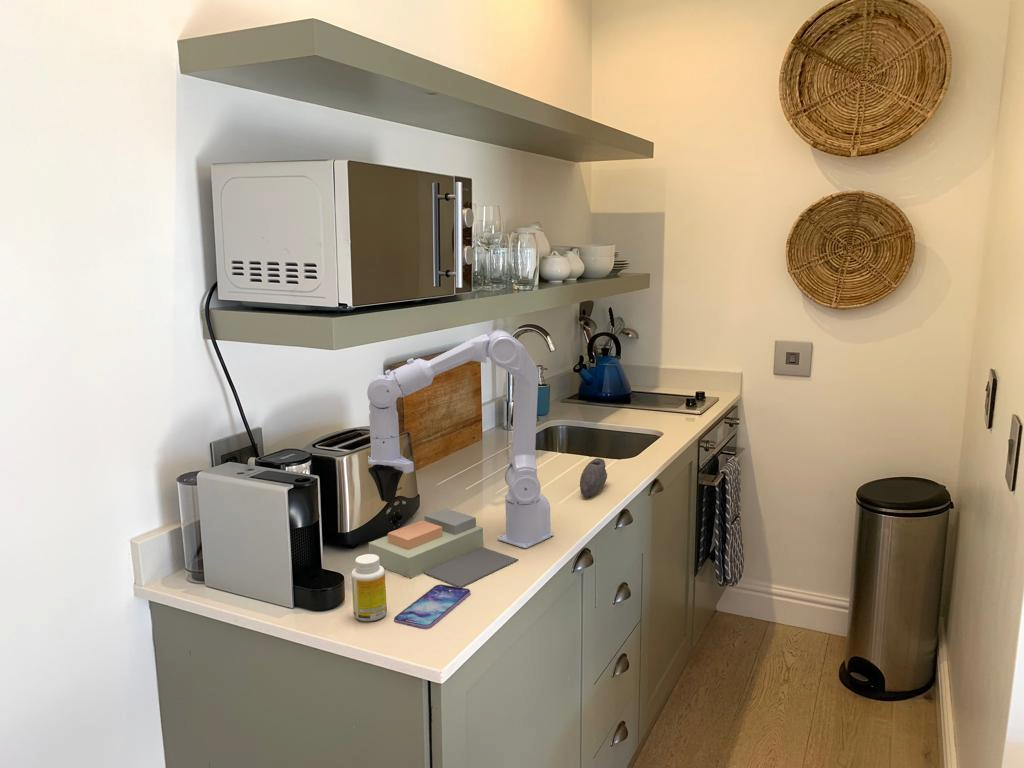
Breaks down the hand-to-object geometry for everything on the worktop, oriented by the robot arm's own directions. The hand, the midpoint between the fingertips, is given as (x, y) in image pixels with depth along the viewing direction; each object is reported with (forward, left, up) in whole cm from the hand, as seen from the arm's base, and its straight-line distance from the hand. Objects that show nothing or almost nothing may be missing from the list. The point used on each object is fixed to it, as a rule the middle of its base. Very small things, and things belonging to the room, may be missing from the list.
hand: (388, 500), depth 162 cm
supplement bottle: (+21, +20, -11) cm, 31 cm away
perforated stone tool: (-55, +11, -11) cm, 57 cm away
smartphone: (+12, +26, -11) cm, 31 cm away
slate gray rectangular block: (-10, +8, -6) cm, 14 cm away
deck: (-3, +8, -10) cm, 13 cm away
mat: (-4, +20, -10) cm, 22 cm away
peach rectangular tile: (0, +8, -6) cm, 10 cm away
